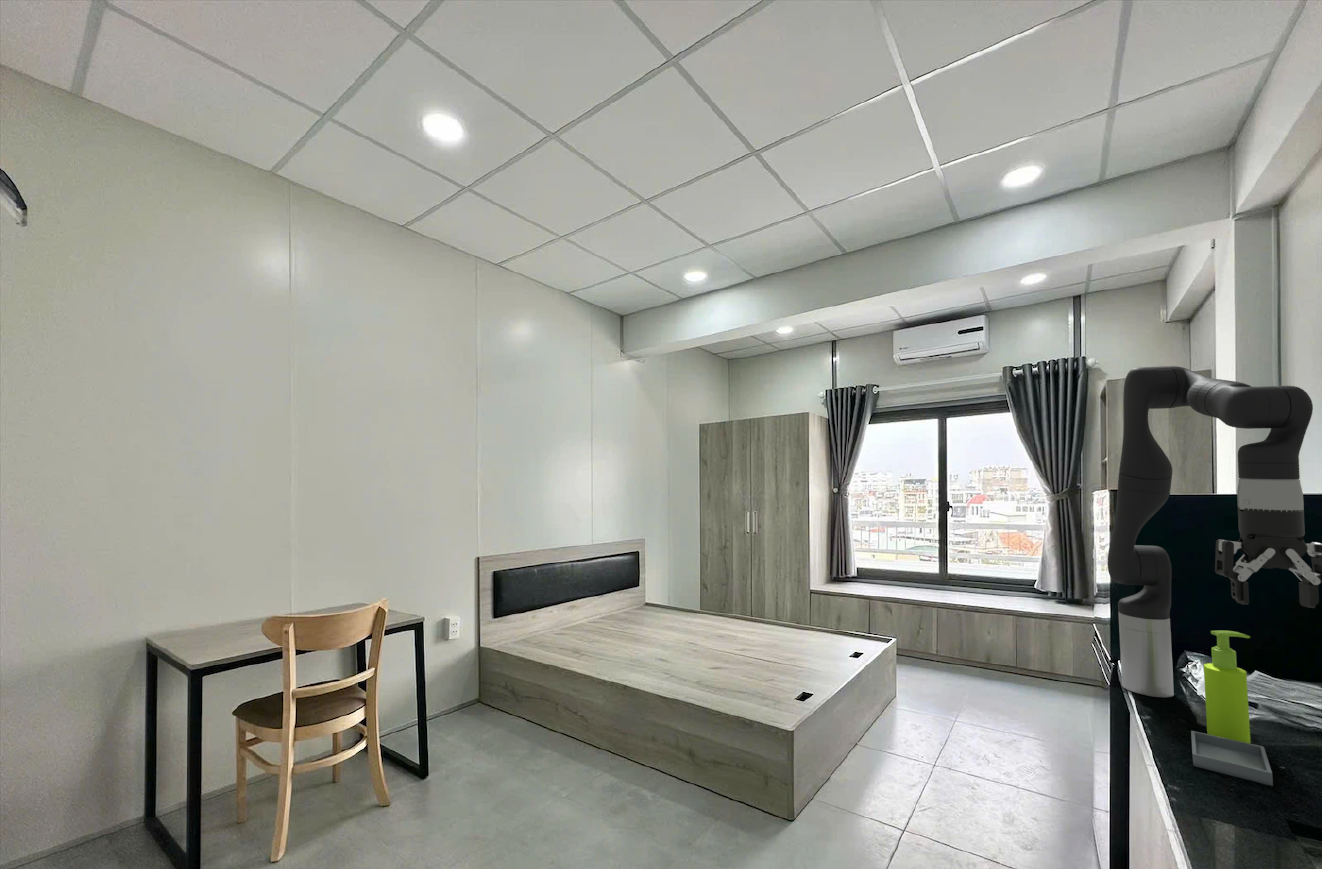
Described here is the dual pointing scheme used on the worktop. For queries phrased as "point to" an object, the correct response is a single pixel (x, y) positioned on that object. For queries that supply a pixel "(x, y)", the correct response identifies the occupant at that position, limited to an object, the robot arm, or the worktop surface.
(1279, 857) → the worktop surface
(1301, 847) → the worktop surface
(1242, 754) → the tray
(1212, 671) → the soap dispenser
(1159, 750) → the worktop surface
